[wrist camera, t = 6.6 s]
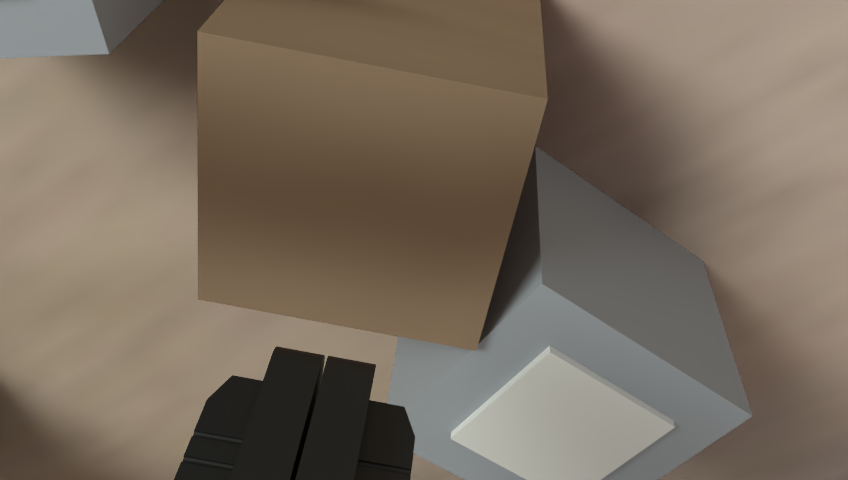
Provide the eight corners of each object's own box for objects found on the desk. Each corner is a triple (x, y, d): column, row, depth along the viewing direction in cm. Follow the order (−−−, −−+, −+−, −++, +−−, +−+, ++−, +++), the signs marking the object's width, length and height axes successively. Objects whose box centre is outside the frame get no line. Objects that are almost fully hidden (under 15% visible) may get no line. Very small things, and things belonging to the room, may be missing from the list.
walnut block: (484, 198, 22) (476, 351, 17) (268, 157, 22) (198, 299, 17) (538, -17, 18) (547, 99, 14) (281, -67, 18) (196, 30, 13)
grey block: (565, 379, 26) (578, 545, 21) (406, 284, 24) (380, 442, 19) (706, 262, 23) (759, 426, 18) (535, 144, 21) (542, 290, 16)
